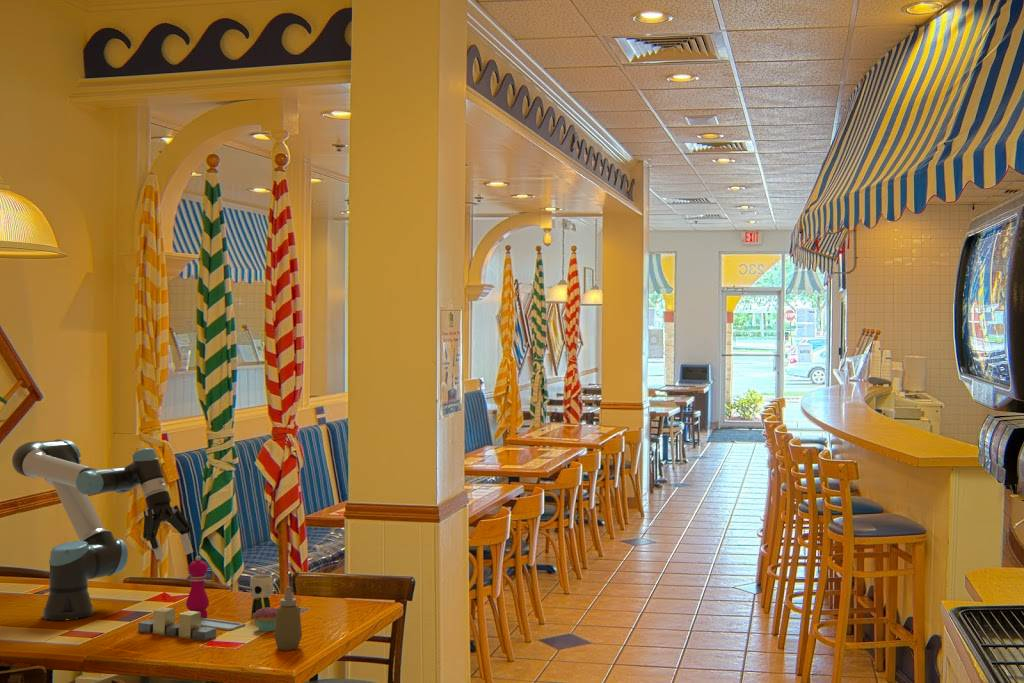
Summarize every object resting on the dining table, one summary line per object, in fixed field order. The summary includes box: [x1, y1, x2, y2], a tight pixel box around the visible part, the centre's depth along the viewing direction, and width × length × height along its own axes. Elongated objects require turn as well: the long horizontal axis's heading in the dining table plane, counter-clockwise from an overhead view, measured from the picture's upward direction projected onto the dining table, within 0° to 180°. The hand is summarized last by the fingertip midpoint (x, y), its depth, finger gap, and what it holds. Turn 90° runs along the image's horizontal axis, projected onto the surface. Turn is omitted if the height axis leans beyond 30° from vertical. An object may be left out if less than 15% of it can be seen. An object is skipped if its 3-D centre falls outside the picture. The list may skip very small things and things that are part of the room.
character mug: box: [249, 574, 274, 617], centre depth 350 cm, size 11×7×13 cm, turn 53°
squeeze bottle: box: [273, 585, 303, 651], centre depth 312 cm, size 8×8×18 cm
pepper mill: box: [185, 555, 210, 618], centre depth 348 cm, size 7×7×20 cm
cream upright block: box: [152, 606, 176, 636], centre depth 327 cm, size 4×4×7 cm
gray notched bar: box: [137, 618, 217, 642], centre depth 325 cm, size 26×5×3 cm, turn 66°
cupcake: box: [252, 593, 277, 632], centre depth 332 cm, size 9×8×12 cm
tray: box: [201, 617, 246, 632], centre depth 337 cm, size 18×7×1 cm, turn 66°
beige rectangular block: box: [178, 610, 202, 640], centre depth 323 cm, size 4×4×7 cm
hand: (175, 555), depth 343 cm, fingers open, 13 cm apart
